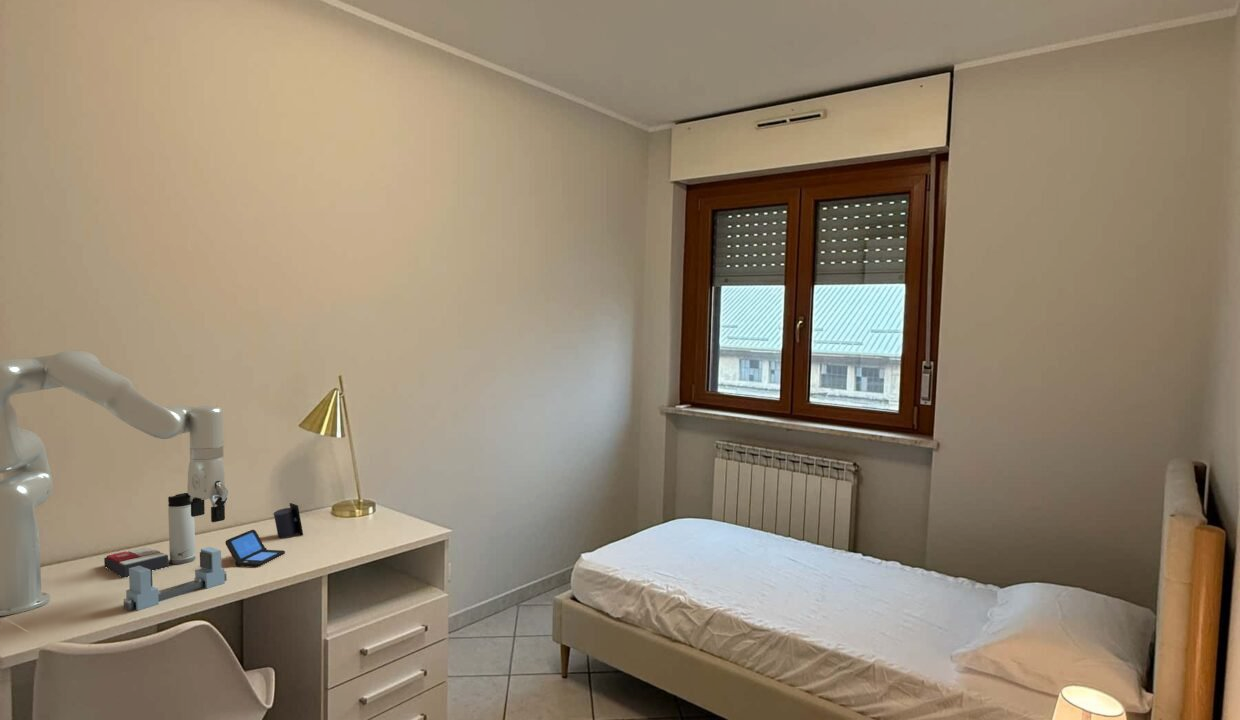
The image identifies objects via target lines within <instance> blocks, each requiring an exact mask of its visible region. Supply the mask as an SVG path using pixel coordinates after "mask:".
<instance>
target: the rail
mask: <svg viewBox="0 0 1240 720" xmlns="http://www.w3.org/2000/svg"><path fill="white" fill-rule="evenodd" d="M224 575H225V582H226V581H227V579H228V578H227V571H225V570H224ZM203 588H205V581H203V580H202V579H200V578H197V577H196V578H195V577H194V578H193V580H190V581H187V582H184V583H181V584H177V585H174V586H171V587H167V588H165V589H161V590H158V599H159V602H163V601H166V600H168V599H172V598H176V597H178V596H181V595H185V594H189V593H191V592H195V591H197V590H201V589H203ZM123 610H125V611H127V612H131V611H134V610H136V602H134V601H131V600H130V599H127V598H123Z"/></svg>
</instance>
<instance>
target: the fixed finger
mask: <svg viewBox="0 0 1240 720" xmlns="http://www.w3.org/2000/svg"><path fill="white" fill-rule="evenodd" d="M128 580H129V581H128V582H129V589H126V590H125V597H126V598H127V599H130V600H131V601H134V602H136V609H135V610H136V611H141V610H144V609H147V608H150V607H153V606H156V605H159V599H158V591H159V588H157V587H155V586H153V571H151V570H150V569H147V568H144V567H142V566H136V567H132V568H129V577H128ZM126 598H125V599H126Z"/></svg>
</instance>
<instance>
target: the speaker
mask: <svg viewBox="0 0 1240 720" xmlns="http://www.w3.org/2000/svg"><path fill="white" fill-rule="evenodd" d="M273 517H274V523H275V527H276V533H277V536H278V537H277V538H279V539H282V538H283V539H285V538H290V537H292V536H294V535H296V534H297V535H299V534H300V535H299V536H302V535H303V536H304V533H303V526H302V522H301V521H302V520H301V515H300V509H299V505H297V504H294V503H292V502H290V503H289V507H285V508H282V509H278V510H276V511H275V512H273Z"/></svg>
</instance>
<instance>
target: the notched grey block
mask: <svg viewBox="0 0 1240 720" xmlns="http://www.w3.org/2000/svg"><path fill="white" fill-rule="evenodd" d="M199 567H200V568H198V569H195V570H194V572H195V573H194V576H195V577H194V578H196V577H197V578H200V579H202V580H203V581H205V587H204V588H205V589H210V588H214V587H216V586H219V585H223V584H226V581H225V575H224V571H225V568H223V567H222V550H221V549H218V548H214V547H211V546H208V547H207V546H206V547H204V548H200V552H199Z"/></svg>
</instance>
